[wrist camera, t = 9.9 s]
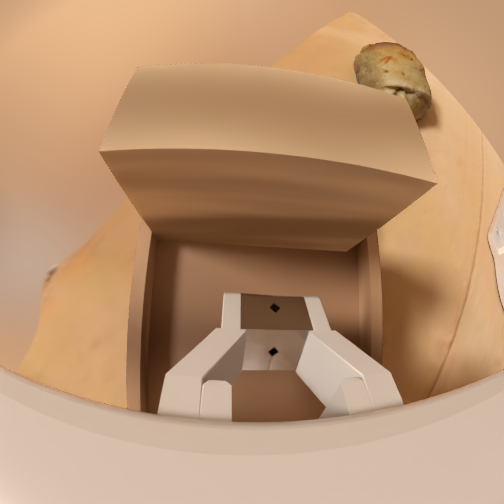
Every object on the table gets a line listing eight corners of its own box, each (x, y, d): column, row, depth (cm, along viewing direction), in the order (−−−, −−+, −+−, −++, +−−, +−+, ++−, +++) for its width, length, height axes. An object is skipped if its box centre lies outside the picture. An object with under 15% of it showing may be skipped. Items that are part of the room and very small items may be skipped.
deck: (307, 450, 18) (357, 514, 8) (173, 448, 17) (141, 519, 7) (313, 240, 23) (368, 178, 13) (182, 232, 22) (153, 160, 12)
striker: (346, 251, 13) (437, 183, 6) (158, 240, 12) (98, 151, 6) (340, 188, 14) (406, 99, 7) (169, 175, 13) (137, 67, 7)
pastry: (369, 57, 33) (386, 23, 25) (430, 104, 32) (454, 72, 24) (328, 81, 29) (346, 35, 22) (406, 140, 28) (439, 100, 20)
